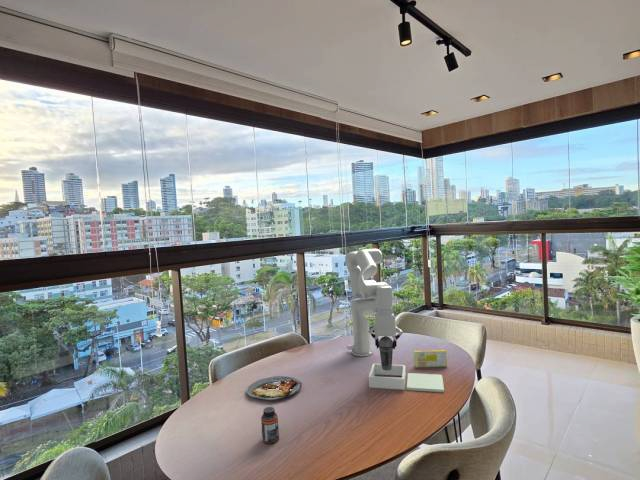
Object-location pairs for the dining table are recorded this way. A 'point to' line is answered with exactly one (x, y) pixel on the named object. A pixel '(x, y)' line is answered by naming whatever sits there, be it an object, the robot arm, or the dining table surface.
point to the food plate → (274, 394)
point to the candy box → (430, 358)
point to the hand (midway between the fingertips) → (386, 347)
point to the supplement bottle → (269, 425)
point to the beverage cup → (386, 352)
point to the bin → (387, 381)
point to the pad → (425, 382)
